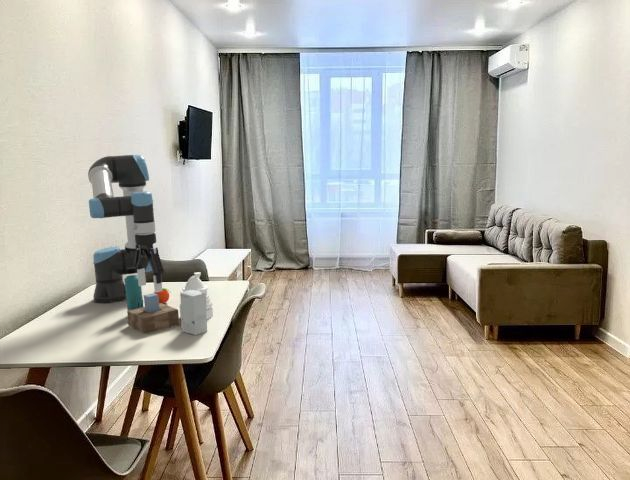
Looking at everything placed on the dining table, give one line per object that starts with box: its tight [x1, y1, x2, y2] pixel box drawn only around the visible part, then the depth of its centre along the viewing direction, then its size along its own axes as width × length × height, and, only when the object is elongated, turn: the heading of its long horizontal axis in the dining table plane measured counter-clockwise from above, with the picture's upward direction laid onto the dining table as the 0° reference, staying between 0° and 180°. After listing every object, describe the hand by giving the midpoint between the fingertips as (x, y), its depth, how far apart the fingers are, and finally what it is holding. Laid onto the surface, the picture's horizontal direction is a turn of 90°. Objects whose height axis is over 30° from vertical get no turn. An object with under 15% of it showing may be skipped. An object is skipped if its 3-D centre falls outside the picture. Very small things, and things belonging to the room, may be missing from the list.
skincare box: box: [179, 290, 208, 336], centre depth 205 cm, size 8×6×15 cm
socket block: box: [126, 303, 180, 335], centre depth 216 cm, size 14×14×6 cm
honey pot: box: [179, 271, 214, 320], centre depth 224 cm, size 13×13×18 cm
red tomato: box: [153, 287, 172, 304], centre depth 246 cm, size 8×7×7 cm
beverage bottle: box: [123, 267, 145, 312], centre depth 228 cm, size 6×7×20 cm
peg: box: [143, 292, 160, 313], centre depth 215 cm, size 4×4×12 cm
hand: (150, 288), depth 214 cm, fingers open, 13 cm apart
